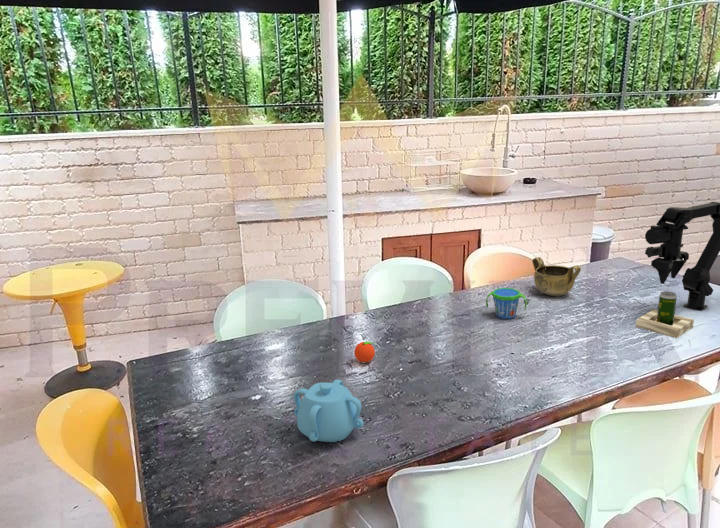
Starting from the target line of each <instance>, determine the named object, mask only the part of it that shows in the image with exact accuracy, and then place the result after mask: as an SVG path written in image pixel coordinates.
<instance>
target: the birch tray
mask: <svg viewBox="0 0 720 528" xmlns="http://www.w3.org/2000/svg"><path fill="white" fill-rule="evenodd" d="M657 313H658V309H652V310H649V311H648V312H646V313H645V314H643V315H642V316H640V317H638V318H636V320H635V327H636V328H638V327H639V329H642V328H643V329H642V330H645V329H646V331H649V330H650V332H652V331H653V333H656V334H660V335H663V334H664V336H667V337H670V336H671V338H674V337H675V338H674V339H678V338H679V337H680V336H681V337H682V336H683V335H684V334H685V333H686V332H688V331H689V330H690V329H692V328H694V322H695V319H693V318H689V317H686V316H685V317H684V316H681V315H677V314H675V315H674V323H673V325H672V326H671V325H667V324H664V323H660V322H657ZM677 337H678V338H677Z"/></svg>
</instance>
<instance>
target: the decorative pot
mask: <svg viewBox="0 0 720 528" xmlns="http://www.w3.org/2000/svg"><path fill="white" fill-rule="evenodd" d="M300 394H302V395H303V398H302V400H301V397H300ZM293 400H294V403H295V406H296V408H294V412H293V413H294V416H295V417H297V418H296V424H297V425H296V426H297V428H298V430H299V431H300V432H301V433H302V434H303V435H304V436H305V437H307V438H309V440H310V441H311V442H317V441H319V442H324V443H326V442H327V443H333V442H336V443H338V442H337V441H339V442H340V441H344V440H345V439H346V438H347V437H349V436H350V435H351V433H352V432H353V430H354V429H357V430H358V429H363V426H364V425H365V424H364V423H365V422H364V420H363V419H362V418H359V417H360V415H361V412H362V406H363V405H362V402H361V401H360V399H359V398H358V397H355V395H353V394H352V393H351V391H350V390H349V388H348V387H346V386H344V383H343V380H341V379H334V380H333V381H332V382H317V383H314V384H313V385H312V386H310V387H309V388H308V389H307V388H303V387H302V388H299V389H297V390H296V391H295V392H294V393H293Z"/></svg>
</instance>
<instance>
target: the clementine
mask: <svg viewBox="0 0 720 528" xmlns="http://www.w3.org/2000/svg"><path fill="white" fill-rule="evenodd" d="M372 344H373V345H372ZM374 345H375V343H374V342H372V341H361V342H359V343H358V344H356V346H355V347H354V350H353V351H354V352H353V354H354V357H355V359H356V361H358V362H360V363H362V362H367V363H369V362H371V361H372V360H373V359H374V357H375V355H376V354H375V352H376V351H375V348H374ZM375 346H376V348H377V345H375ZM368 361H369V362H368Z"/></svg>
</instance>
